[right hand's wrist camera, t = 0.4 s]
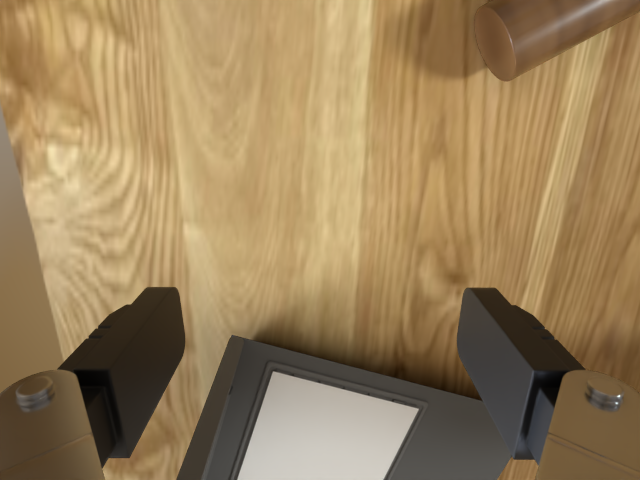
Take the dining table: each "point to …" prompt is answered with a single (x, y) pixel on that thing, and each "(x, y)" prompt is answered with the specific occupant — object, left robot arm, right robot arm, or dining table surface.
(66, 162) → the dining table surface
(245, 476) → the laptop
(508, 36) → the rod
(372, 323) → the dining table surface
